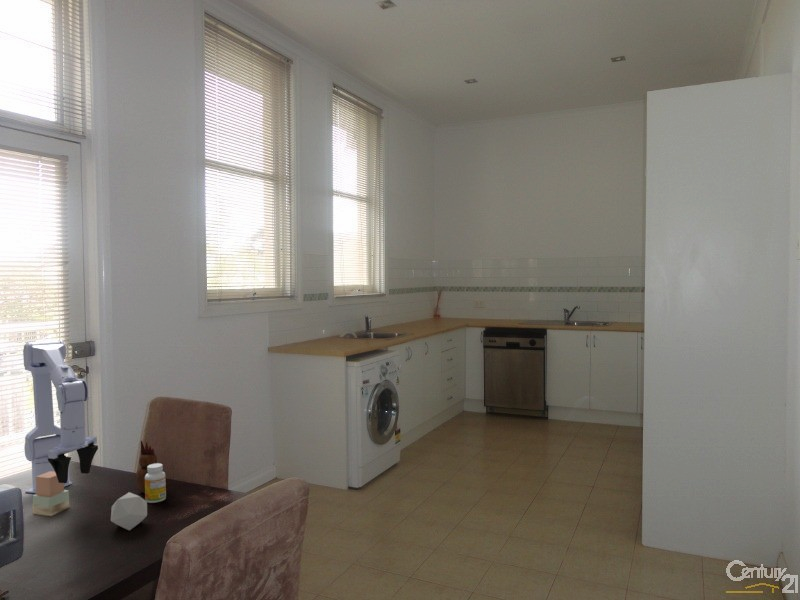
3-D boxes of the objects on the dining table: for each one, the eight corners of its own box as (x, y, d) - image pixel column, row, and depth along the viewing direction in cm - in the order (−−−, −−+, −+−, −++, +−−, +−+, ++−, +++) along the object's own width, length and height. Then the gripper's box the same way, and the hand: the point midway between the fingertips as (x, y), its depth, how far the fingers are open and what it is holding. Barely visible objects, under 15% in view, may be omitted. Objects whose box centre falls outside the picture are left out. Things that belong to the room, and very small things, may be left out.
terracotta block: (50, 489, 162) (50, 471, 162) (64, 490, 161) (63, 472, 160) (36, 495, 158) (35, 476, 157) (50, 496, 156) (49, 478, 156)
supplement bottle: (146, 497, 168) (145, 463, 168) (166, 495, 170) (165, 461, 169) (144, 504, 163) (143, 469, 163) (165, 501, 165) (164, 467, 164)
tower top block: (53, 496, 163) (53, 487, 163) (69, 499, 161) (68, 490, 161) (32, 504, 157) (32, 495, 157) (49, 507, 155) (48, 498, 155)
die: (155, 527, 149) (154, 490, 154) (132, 522, 142) (131, 483, 147) (126, 537, 150) (126, 500, 155) (102, 533, 143) (103, 494, 148)
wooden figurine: (132, 493, 171) (131, 442, 171) (147, 487, 177) (146, 437, 176) (150, 496, 169) (149, 444, 168) (165, 489, 174) (164, 439, 174)
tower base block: (51, 506, 163) (51, 497, 163) (69, 508, 161) (69, 499, 161) (32, 514, 157) (32, 505, 157) (51, 516, 155) (51, 507, 155)
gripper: (63, 434, 149) (65, 488, 149) (105, 421, 163) (106, 470, 163) (40, 433, 150) (42, 486, 151) (84, 419, 164) (85, 468, 165)
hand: (74, 477), depth 157 cm, fingers open, 7 cm apart
